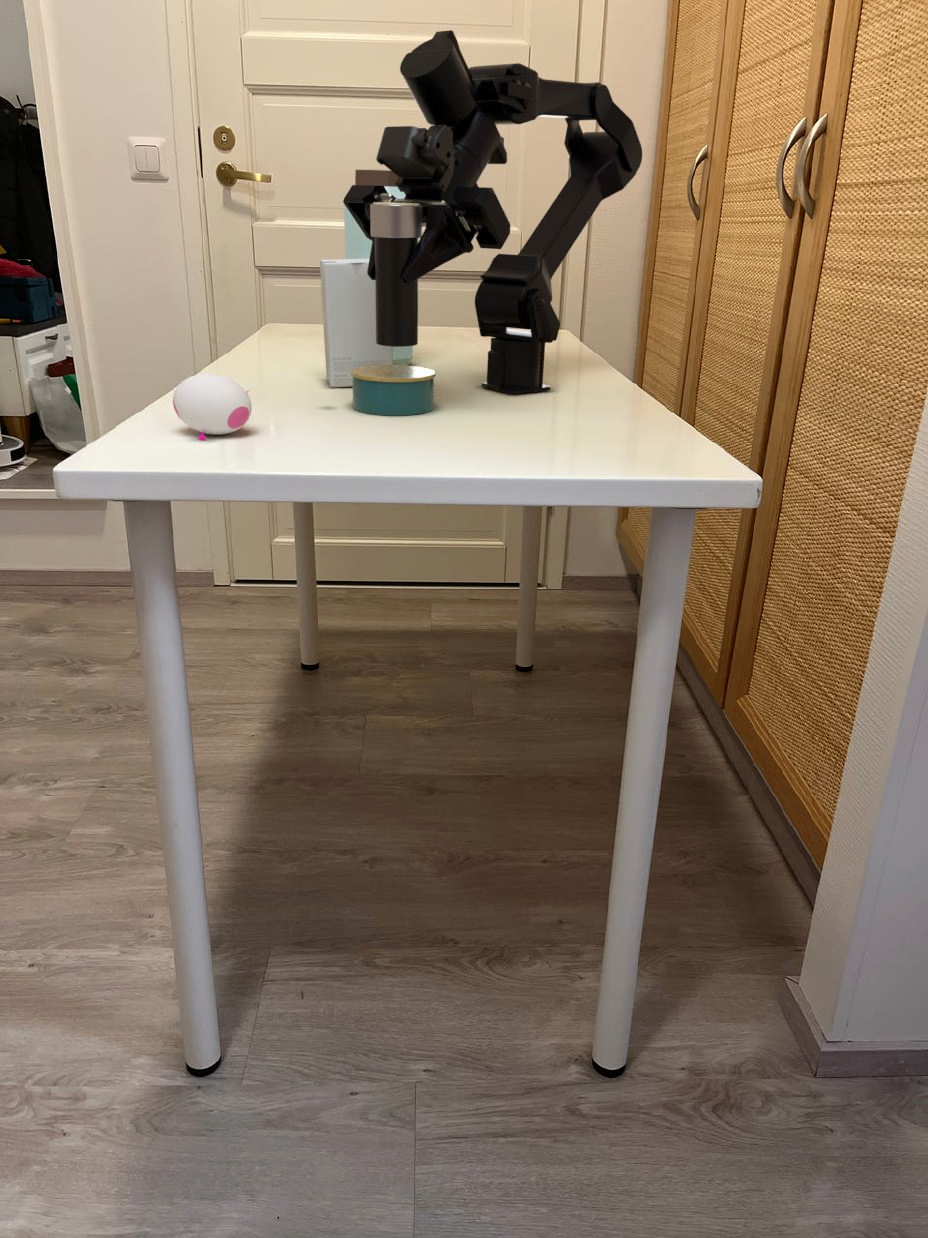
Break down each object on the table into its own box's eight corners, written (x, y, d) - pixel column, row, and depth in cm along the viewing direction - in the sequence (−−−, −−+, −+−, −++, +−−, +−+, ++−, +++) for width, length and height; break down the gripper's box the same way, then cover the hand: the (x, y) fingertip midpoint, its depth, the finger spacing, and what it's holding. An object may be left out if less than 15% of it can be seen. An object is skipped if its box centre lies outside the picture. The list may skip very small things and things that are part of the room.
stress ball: (258, 465, 95) (272, 403, 96) (229, 433, 87) (244, 366, 88) (187, 456, 96) (202, 395, 97) (152, 424, 88) (168, 358, 89)
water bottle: (425, 361, 139) (428, 173, 129) (398, 371, 130) (399, 169, 120) (362, 356, 142) (360, 171, 132) (332, 365, 133) (328, 168, 123)
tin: (406, 396, 113) (406, 362, 112) (451, 411, 106) (452, 374, 105) (336, 403, 108) (335, 367, 106) (378, 419, 101) (378, 380, 99)
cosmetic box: (387, 379, 124) (386, 257, 118) (394, 387, 119) (394, 260, 113) (322, 380, 122) (319, 256, 116) (326, 388, 117) (323, 259, 111)
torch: (421, 340, 103) (422, 203, 97) (421, 347, 98) (422, 203, 93) (373, 339, 103) (371, 201, 97) (371, 346, 98) (368, 202, 92)
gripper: (353, 99, 99) (279, 215, 95) (498, 92, 89) (422, 221, 85) (403, 184, 108) (337, 292, 104) (540, 187, 98) (472, 307, 94)
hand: (387, 278), depth 97 cm, fingers closed on torch, 4 cm apart
